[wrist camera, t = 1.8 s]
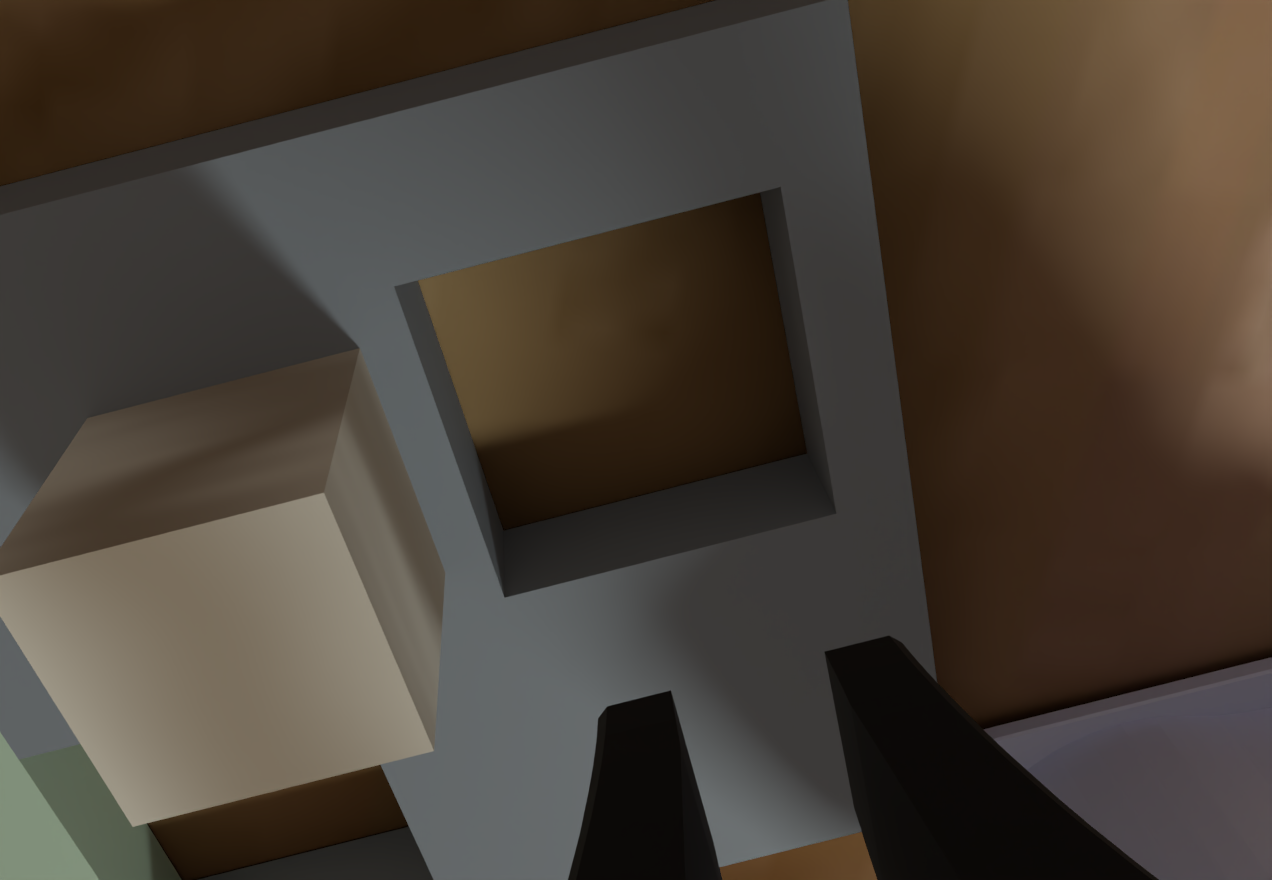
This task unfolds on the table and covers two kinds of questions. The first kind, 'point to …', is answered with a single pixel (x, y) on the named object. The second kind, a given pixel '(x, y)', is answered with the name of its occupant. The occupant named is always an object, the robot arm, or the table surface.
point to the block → (232, 590)
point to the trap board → (442, 445)
